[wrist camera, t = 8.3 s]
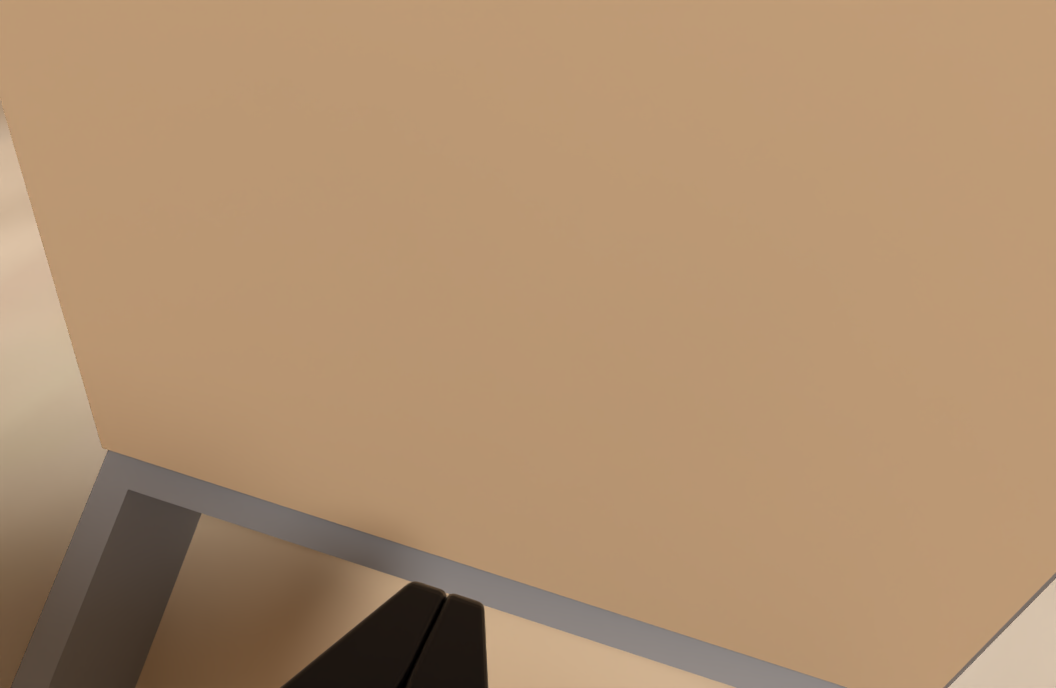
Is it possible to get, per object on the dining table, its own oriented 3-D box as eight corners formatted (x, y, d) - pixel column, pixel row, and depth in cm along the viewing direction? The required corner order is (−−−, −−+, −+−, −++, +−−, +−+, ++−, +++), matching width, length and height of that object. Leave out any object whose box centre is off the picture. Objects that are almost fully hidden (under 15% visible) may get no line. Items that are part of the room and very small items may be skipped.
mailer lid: (1810, -156, 5) (1728, -181, 6) (-211, -554, 7) (-137, -544, 7) (927, 721, 13) (924, 679, 14) (93, 452, 15) (119, 423, 15)
